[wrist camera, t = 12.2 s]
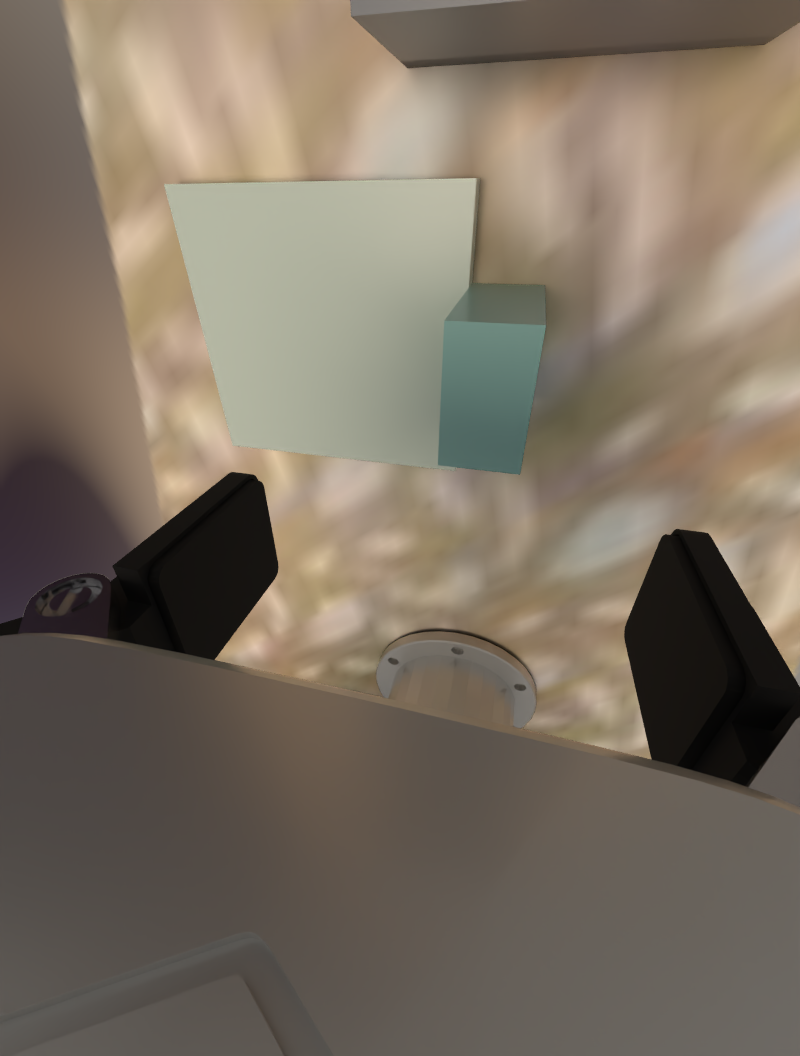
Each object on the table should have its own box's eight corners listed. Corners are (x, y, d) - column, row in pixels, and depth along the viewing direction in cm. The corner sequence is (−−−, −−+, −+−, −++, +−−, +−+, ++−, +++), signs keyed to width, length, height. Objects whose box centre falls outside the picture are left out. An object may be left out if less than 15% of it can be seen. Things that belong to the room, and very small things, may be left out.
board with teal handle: (243, 436, 27) (167, 499, 21) (182, 184, 19) (44, 182, 14) (515, 466, 23) (506, 549, 18) (563, 176, 16) (572, 171, 11)
